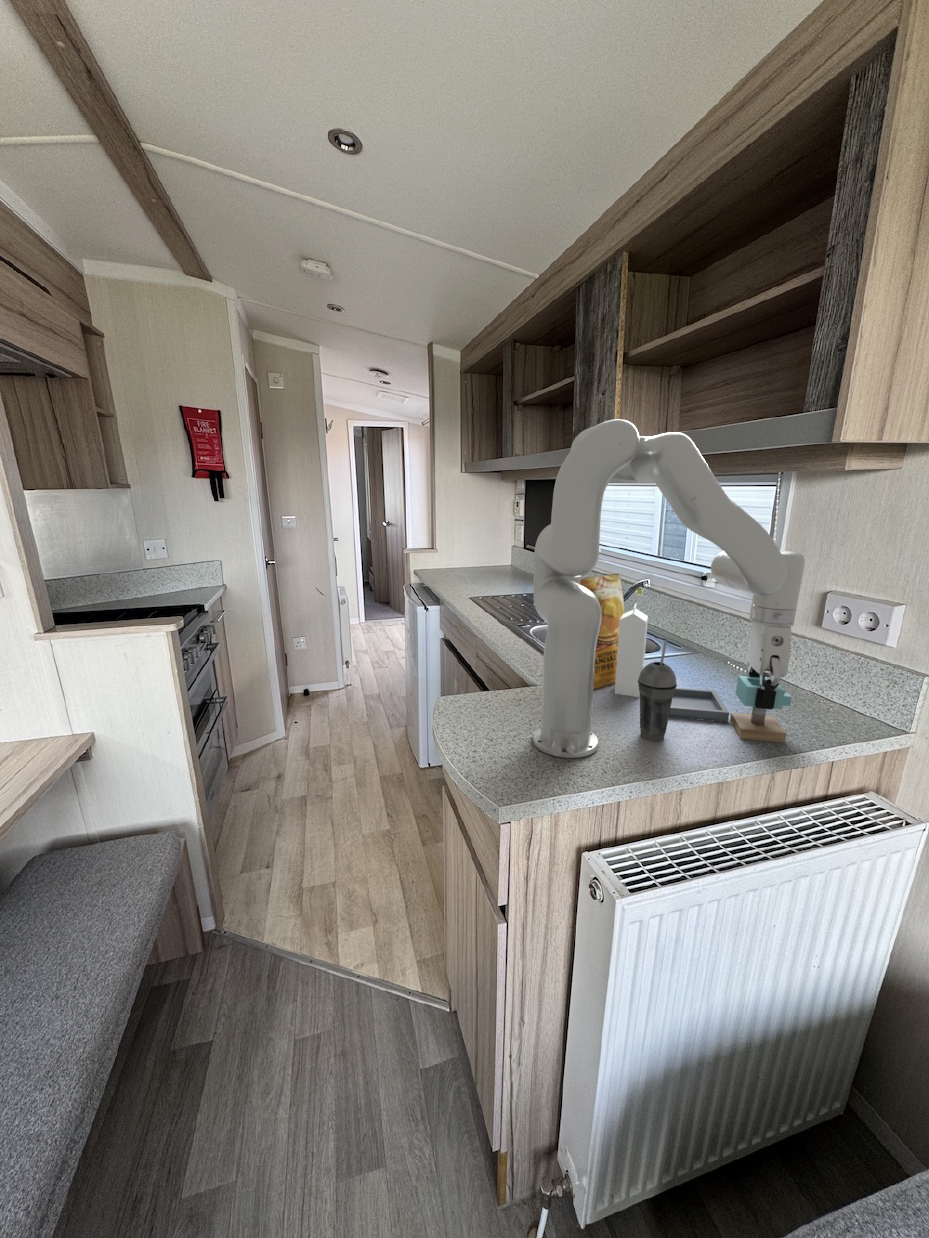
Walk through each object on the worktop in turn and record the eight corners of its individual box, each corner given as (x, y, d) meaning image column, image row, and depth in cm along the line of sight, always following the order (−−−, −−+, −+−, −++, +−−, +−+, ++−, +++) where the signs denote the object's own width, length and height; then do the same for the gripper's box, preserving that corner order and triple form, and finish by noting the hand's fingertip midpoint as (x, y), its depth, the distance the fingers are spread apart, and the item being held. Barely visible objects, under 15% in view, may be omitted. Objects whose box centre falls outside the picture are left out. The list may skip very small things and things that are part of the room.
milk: (614, 694, 124) (619, 606, 119) (617, 685, 130) (622, 601, 124) (640, 697, 122) (647, 608, 117) (642, 689, 127) (649, 603, 122)
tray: (727, 722, 109) (729, 712, 108) (663, 716, 112) (664, 707, 111) (713, 699, 121) (715, 690, 120) (656, 694, 124) (657, 685, 123)
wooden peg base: (784, 742, 100) (789, 712, 98) (740, 738, 101) (744, 708, 100) (771, 725, 107) (775, 696, 106) (729, 721, 109) (733, 693, 107)
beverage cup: (625, 731, 104) (632, 638, 100) (654, 725, 107) (662, 634, 102) (650, 747, 98) (659, 648, 93) (679, 741, 100) (690, 644, 96)
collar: (794, 710, 98) (797, 691, 97) (744, 705, 100) (747, 686, 99) (782, 698, 104) (785, 679, 103) (735, 693, 106) (738, 675, 105)
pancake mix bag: (563, 685, 130) (568, 577, 123) (613, 671, 140) (620, 571, 133) (583, 694, 124) (589, 581, 118) (633, 678, 135) (641, 574, 128)
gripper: (812, 627, 89) (794, 721, 93) (777, 607, 106) (764, 688, 110) (765, 624, 91) (750, 716, 95) (738, 605, 107) (726, 684, 112)
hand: (758, 700), depth 102 cm, fingers closed on collar, 6 cm apart
